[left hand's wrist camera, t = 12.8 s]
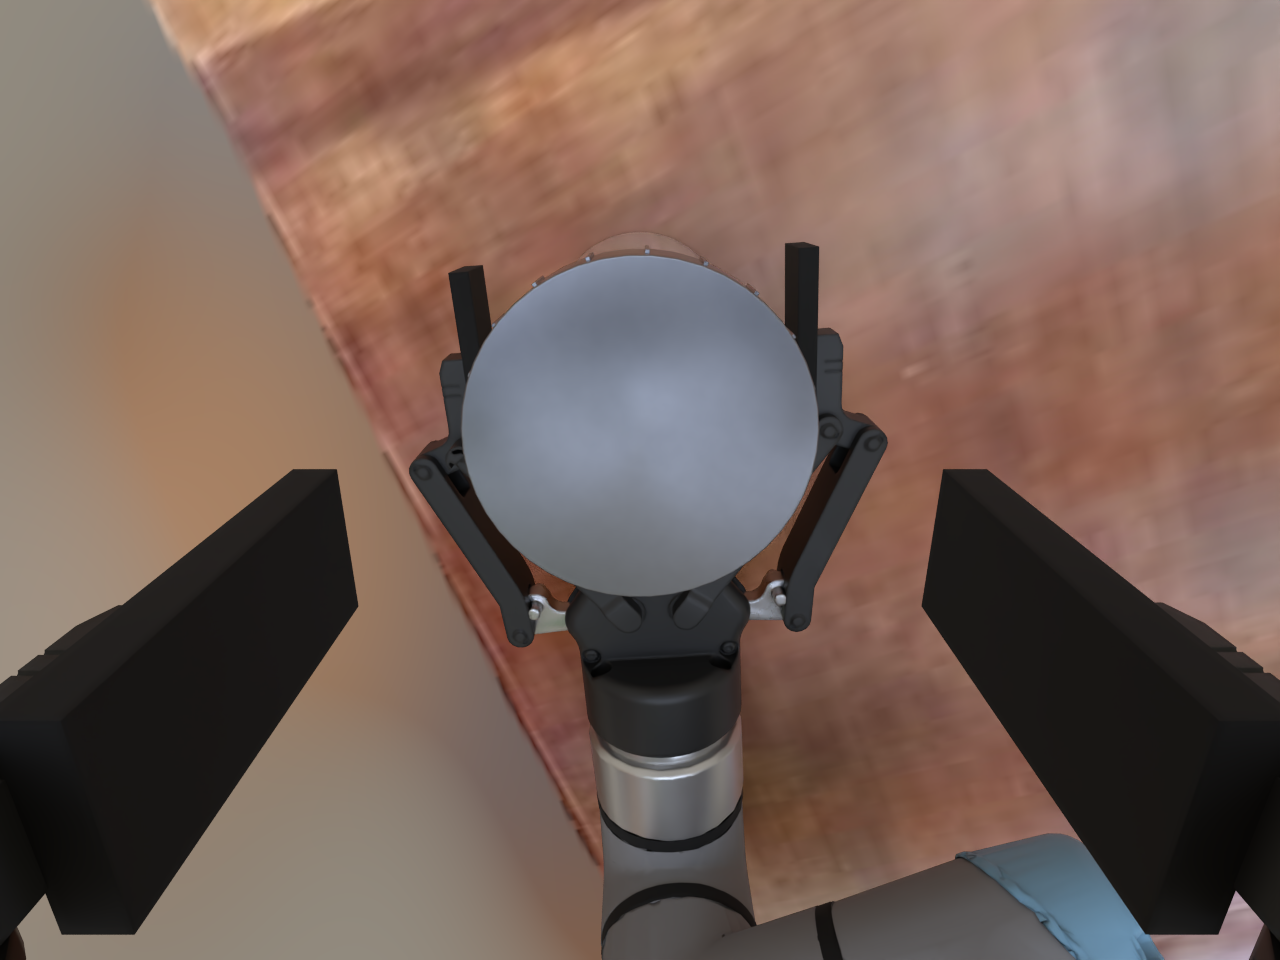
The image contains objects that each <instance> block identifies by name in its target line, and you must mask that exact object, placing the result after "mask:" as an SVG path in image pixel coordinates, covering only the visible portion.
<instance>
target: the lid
mask: <svg viewBox="0 0 1280 960" xmlns="http://www.w3.org/2000/svg"><path fill="white" fill-rule="evenodd" d="M532 286H533V288H532V289H531V290H529V291H528V292H527V293H526V294H525V295H523V296H522V297H521V298H520V299H519V300H518V301H517V302H515V303H514V304H513V305H512V307H511V308H510V309H509V310H508V311H507V312H506V313H505V314H503V315H502V316H501V317H499V318H498V319H497V320H496V321H495V322H494V323H493V324H492V327H493V329H492V330H491V332H490V333H489V335H488V336H487V338H486V339H485V341H484V342H483V344H482V346H481V348H480V350H479V352H478V354H477V356H476V358H475V360H474V362H473V365H472V368H471V371H470V372H469V373H468V380H467V383H466V387H465V393H464V398H463V403H462V415H461V437H462V447H463V454H464V459H465V463H466V467H467V472H468V475H469V478H470V480H471V483H472V485H473V488H474V491H475V493H476V495H477V497H478V499H479V501H480V503H481V505H482V507H483V508H484V510H485V512H486V514H487V515H488V517H489V518H490V519H491V521H492V522H493V524H494V525H495V526H496V528H497V529H498V531H499V532H500V533H501V534H502V535H503V536H504V537H505V538H506V539H507V540H508V542H509V543H510V544H511V545H512V546H513V547H514V548H515V549H517V550H518V551H519V552H520V553H521V554H522V555H524V556H525V557H526V558H527V559H528V560H530V561H531V562H533V563H534V564H536V565H537V566H539V567H540V568H542V569H543V570H545V571H546V572H548V573H550V574H552V575H554V576H556V577H558V578H560V579H562V580H564V581H566V582H568V583H571V584H574V585H577V586H579V587H582V588H585V589H588V590H592V591H597V592H601V593H605V594H611V595H620V596H628V597H652V596H660V595H669V594H675V593H679V592H683V591H688V590H692V589H695V588H698V587H701V586H703V585H706V584H709V583H712V582H714V581H716V580H718V579H720V578H722V577H724V576H726V575H728V574H730V573H732V572H734V571H735V570H737V569H738V568H740V567H741V566H743V565H744V564H746V563H747V562H749V561H750V560H752V559H753V558H754V557H755V556H756V555H757V554H759V553H760V552H761V551H762V550H763V549H765V548H766V547H767V546H768V545H769V544H770V543H771V541H772V540H773V539H774V538H775V537H776V536H777V535H778V534H779V533H780V532H781V531H782V529H783V528H784V526H785V525H786V524H787V522H788V521H789V519H790V518H791V517H792V515H793V514H794V512H795V510H796V508H797V507H798V505H799V503H800V501H801V499H802V497H803V495H804V493H805V491H806V488H807V485H808V483H809V480H810V477H811V475H812V472H813V467H814V463H815V458H816V454H817V447H818V436H819V416H818V404H817V398H816V393H815V386H814V383H813V380H812V377H811V374H810V371H809V368H808V365H807V362H806V360H805V358H804V356H803V354H802V352H801V350H800V348H799V346H798V344H797V342H796V341H795V338H796V337H795V335H794V334H793V333H792V332H791V331H790V330H789V329H788V328H787V327H786V326H785V325H784V323H783V322H782V321H781V320H780V318H779V317H778V316H777V315H776V314H775V313H774V312H773V311H772V310H771V309H770V308H769V307H768V305H767V304H766V303H764V302H763V301H762V300H761V299H760V298H759V297H758V295H759V293H758V292H757V291H756V290H755V289H754V288H753V287H751V286H750V285H749V284H747V285H746V286H745V285H743V284H742V283H741V282H740V281H738V280H737V279H736V278H734V277H733V276H731V275H729V274H728V273H726V272H724V271H723V270H721V269H719V268H718V267H716V266H714V265H711V264H709V262H708V261H707V260H706V259H705V258H704V257H701V256H700V257H699V259H697V258H695V257H691V256H687V255H684V254H680V253H677V252H672V251H665V250H658V249H649V245H645V249H622V250H615V251H608V252H603V253H600V254H596V255H594V253H593V252H590V253H589V254H588V255H587V256H586V257H585V258H582V259H580V260H578V261H576V262H573V263H571V264H569V265H566V266H564V267H562V268H560V269H559V270H557V271H556V272H554V273H552V274H551V275H549V276H547V277H546V278H544V276H541V277H540V278H539V279H538V280H536V281H535V282H534V283H533V284H532Z"/></svg>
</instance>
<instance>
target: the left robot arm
mask: <svg viewBox="0 0 1280 960" xmlns="http://www.w3.org/2000/svg"><path fill="white" fill-rule="evenodd" d="M357 608H358V601H357V594H356V588H355V582H354V575H353V569H352V563H351V556H350V550H349V544H348V537H347V531H346V525H345V518H344V512H343V506H342V499H341V493H340V486H339V480H338V474H337V469H293V470H292V471H290V472H289V473H288V474H287V475H285V476H284V477H283V478H282V479H280V480H279V481H278V482H277V483H275V484H274V485H273V486H272V487H270V488H269V489H268V490H267V491H265V492H264V493H263V494H262V495H260V496H259V497H258V498H256V499H255V500H254V501H253V502H251V503H250V504H249V505H248V506H246V507H245V508H244V509H243V510H241V511H240V512H239V513H238V514H236V515H235V516H234V517H233V518H231V519H230V520H229V521H228V522H226V523H225V524H224V525H223V526H221V527H220V528H219V529H218V530H216V531H215V532H214V533H213V534H211V535H210V536H209V537H207V538H206V539H205V540H204V541H202V542H201V543H200V544H199V545H197V546H196V547H195V548H194V549H192V550H191V551H190V552H189V553H187V554H186V555H185V556H184V557H182V558H181V559H180V560H179V561H177V562H176V563H175V564H174V565H172V566H171V567H170V568H168V569H167V570H166V571H165V572H163V573H162V574H161V575H160V576H158V577H157V578H156V579H155V580H153V581H152V582H151V583H150V584H148V585H147V586H146V587H145V588H143V589H142V590H141V591H140V592H138V593H137V594H136V595H135V596H133V597H132V598H131V599H130V600H128V601H127V602H126V603H125V604H123V605H118V606H116V607H114V608H112V609H110V610H108V611H106V612H104V613H102V614H99V615H97V616H95V617H93V618H91V619H89V620H87V621H85V622H83V623H81V624H79V625H77V626H76V627H74V628H73V629H72V630H70V631H69V632H68V633H66V634H65V635H64V636H62V637H61V638H60V639H59V640H57V641H56V642H55V643H53V644H52V645H51V646H49V647H48V648H47V649H46V650H45V653H44V655H38V656H36V657H35V658H34V659H32V660H31V661H30V662H29V663H27V664H26V665H25V666H23V667H22V668H21V669H19V670H18V675H17V676H10V677H9V678H8V679H6V680H5V681H4V682H3V683H1V684H0V960H26V955H25V948H24V942H23V940H22V937H21V935H20V933H19V930H18V928H17V926H18V925H19V924H20V922H21V921H22V920H23V919H24V918H25V917H26V915H27V914H28V913H29V912H30V911H31V910H32V908H33V907H34V906H35V905H36V904H37V902H38V901H39V900H40V899H41V898H42V897H43V895H44V894H46V896H47V898H48V901H49V904H50V906H51V909H52V911H53V914H54V916H55V919H56V921H57V924H58V926H59V929H60V931H61V934H62V935H134V934H135V933H136V932H137V930H138V929H139V927H140V926H141V924H142V923H143V921H144V920H145V919H146V917H147V916H148V914H149V913H150V911H151V910H152V908H153V907H154V905H155V904H156V902H157V901H158V899H159V898H160V896H161V895H162V894H163V892H164V891H165V889H166V888H167V886H168V885H169V883H170V882H171V880H172V879H173V877H174V876H175V874H176V873H177V872H178V870H179V869H180V867H181V866H182V864H183V863H184V861H185V860H186V858H187V857H188V855H189V854H190V853H191V851H192V850H193V848H194V847H195V845H196V844H197V842H198V841H199V839H200V838H201V836H202V835H203V833H204V832H205V830H206V829H207V828H208V826H209V825H210V823H211V822H212V820H213V819H214V817H215V816H216V814H217V813H218V811H219V810H220V809H221V807H222V806H223V804H224V803H225V801H226V800H227V798H228V797H229V795H230V794H231V792H232V791H233V789H234V788H235V786H236V785H237V784H238V782H239V781H240V779H241V778H242V776H243V775H244V773H245V772H246V770H247V769H248V767H249V766H250V764H251V763H252V762H253V760H254V759H255V757H256V756H257V754H258V753H259V751H260V750H261V748H262V747H263V745H264V744H265V743H266V741H267V739H268V738H269V737H270V735H271V734H272V732H273V731H274V729H275V728H276V726H277V725H278V723H279V722H280V721H281V719H282V718H283V716H284V715H285V713H286V712H287V710H288V709H289V707H290V706H291V704H292V703H293V701H294V700H295V698H296V697H297V696H298V694H299V693H300V691H301V690H302V688H303V687H304V685H305V684H306V682H307V681H308V679H309V678H310V677H311V675H312V674H313V672H314V671H315V669H316V668H317V666H318V665H319V663H320V662H321V660H322V659H323V657H324V656H325V654H326V653H327V652H328V650H329V649H330V647H331V646H332V644H333V643H334V641H335V640H336V638H337V637H338V635H339V634H340V632H341V631H342V630H343V628H344V627H345V625H346V624H347V622H348V621H349V619H350V618H351V616H352V615H353V613H354V612H355V611H356V609H357ZM922 608H923V609H924V611H925V612H926V613H927V615H928V616H929V618H930V619H931V621H932V622H933V624H934V625H935V627H936V628H937V630H938V631H939V633H940V634H941V635H942V637H943V638H944V640H945V641H946V643H947V644H948V646H949V647H950V649H951V650H952V652H953V653H954V655H955V656H956V657H957V659H958V660H959V662H960V663H961V665H962V666H963V668H964V669H965V671H966V672H967V674H968V675H969V677H970V678H971V679H972V681H973V682H974V684H975V685H976V687H977V688H978V690H979V691H980V693H981V694H982V696H983V697H984V699H985V700H986V701H987V703H988V704H989V706H990V707H991V709H992V710H993V712H994V713H995V715H996V716H997V718H998V719H999V721H1000V722H1001V723H1002V725H1003V726H1004V728H1005V729H1006V731H1007V732H1008V734H1009V735H1010V737H1011V738H1012V740H1013V741H1014V743H1015V744H1016V745H1017V747H1018V748H1019V750H1020V751H1021V753H1022V754H1023V756H1024V757H1025V759H1026V760H1027V762H1028V763H1029V765H1030V766H1031V767H1032V769H1033V770H1034V772H1035V773H1036V775H1037V776H1038V778H1039V779H1040V781H1041V782H1042V784H1043V785H1044V787H1045V788H1046V789H1047V791H1048V792H1049V794H1050V795H1051V797H1052V798H1053V800H1054V801H1055V803H1056V804H1057V806H1058V807H1059V809H1060V810H1061V811H1062V813H1063V814H1064V816H1065V817H1066V819H1067V820H1068V822H1069V823H1070V825H1071V826H1072V828H1073V829H1074V831H1075V832H1076V833H1077V835H1078V836H1079V838H1080V839H1081V841H1082V842H1083V844H1084V845H1085V847H1086V848H1087V850H1088V851H1089V853H1090V854H1091V855H1092V857H1093V858H1094V860H1095V861H1096V863H1097V864H1098V866H1099V867H1100V869H1101V870H1102V872H1103V873H1104V875H1105V876H1106V877H1107V879H1108V880H1109V882H1110V883H1111V885H1112V886H1113V888H1114V889H1115V891H1116V892H1117V894H1118V895H1119V897H1120V898H1121V899H1122V901H1123V902H1124V904H1125V905H1126V907H1127V908H1128V910H1129V911H1130V913H1131V914H1132V916H1133V917H1134V919H1135V920H1136V921H1137V923H1138V924H1139V926H1140V927H1141V929H1142V930H1143V932H1144V933H1145V935H1218V934H1219V931H1220V929H1221V926H1222V924H1223V921H1224V919H1225V916H1226V914H1227V911H1228V909H1229V906H1230V904H1231V901H1232V899H1233V896H1234V894H1235V891H1237V892H1238V893H1239V895H1240V896H1241V897H1242V898H1243V899H1244V900H1245V902H1246V903H1247V904H1248V905H1249V906H1250V907H1251V909H1252V910H1253V911H1254V912H1255V913H1256V914H1257V916H1258V917H1259V918H1260V919H1261V920H1262V921H1263V923H1264V925H1263V928H1262V930H1261V932H1260V935H1259V937H1258V940H1257V942H1256V944H1255V947H1254V949H1253V951H1252V954H1251V956H1250V958H1249V960H1280V680H1279V679H1277V678H1276V677H1275V676H1273V675H1272V674H1271V673H1264V672H1263V667H1262V666H1260V665H1259V664H1258V663H1256V662H1255V661H1254V660H1252V659H1251V658H1250V657H1248V656H1247V655H1246V654H1244V653H1243V652H1237V650H1236V647H1235V646H1234V645H1233V644H1231V643H1230V642H1229V641H1227V640H1226V639H1225V638H1223V637H1222V636H1221V635H1220V634H1218V633H1217V632H1216V631H1214V630H1213V629H1212V628H1210V627H1209V626H1208V625H1206V624H1205V623H1203V622H1201V621H1199V620H1197V619H1195V618H1193V617H1191V616H1189V615H1187V614H1185V613H1183V612H1181V611H1179V610H1177V609H1175V608H1173V607H1170V606H1168V605H1166V604H1164V603H1154V602H1153V601H1152V600H1150V599H1149V598H1148V597H1147V596H1145V595H1144V594H1143V593H1142V592H1140V591H1139V590H1138V589H1137V588H1135V587H1134V586H1133V585H1132V584H1130V583H1129V582H1128V581H1127V580H1125V579H1124V578H1123V577H1122V576H1120V575H1119V574H1118V573H1117V572H1115V571H1114V570H1113V569H1112V568H1110V567H1109V566H1108V565H1106V564H1105V563H1104V562H1103V561H1101V560H1100V559H1099V558H1098V557H1096V556H1095V555H1094V554H1093V553H1091V552H1090V551H1089V550H1088V549H1086V548H1085V547H1084V546H1083V545H1081V544H1080V543H1079V542H1078V541H1076V540H1075V539H1074V538H1073V537H1071V536H1070V535H1069V534H1068V533H1066V532H1065V531H1064V530H1063V529H1061V528H1060V527H1059V526H1057V525H1056V524H1055V523H1054V522H1052V521H1051V520H1050V519H1049V518H1047V517H1046V516H1045V515H1044V514H1042V513H1041V512H1040V511H1039V510H1037V509H1036V508H1035V507H1034V506H1032V505H1031V504H1030V503H1029V502H1027V501H1026V500H1025V499H1024V498H1022V497H1021V496H1020V495H1019V494H1017V493H1016V492H1015V491H1014V490H1012V489H1011V488H1010V487H1008V486H1007V485H1006V484H1005V483H1003V482H1002V481H1001V480H1000V479H998V478H997V477H996V476H995V475H993V474H992V473H991V472H990V471H988V470H987V469H943V474H942V480H941V486H940V493H939V499H938V505H937V512H936V518H935V525H934V531H933V537H932V544H931V550H930V556H929V563H928V569H927V575H926V582H925V588H924V594H923V601H922Z"/></svg>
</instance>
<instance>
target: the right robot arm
mask: <svg viewBox="0 0 1280 960" xmlns="http://www.w3.org/2000/svg"><path fill="white" fill-rule="evenodd" d="M448 274H449V281H450V287H451V293H452V300H453V306H454V312H455V319H456V325H457V332H458V338H459V344H460V351H461V353H454V354H450V355H449V356H447V357H446V358H445V359H444V360H443V361H442V364H441V369H440V373H439V374H440V380H441V386H442V392H443V397H444V404H445V410H446V416H447V422H448V428H449V436H448V437H446V438H444V439H441V440H439V441H432V442H430V443H429V444H428V445H427V446H426V447H425V448H424V449H423V450H422V452H421V453H420V454H419V455H418V456H417V458H416V459H415V460H414V461H413V462H412V464H411V466H410V468H409V474H410V476H411V479H412V480H413V482H414V483H415V484H416V486H417V487H418V489H419V490H420V492H421V493H422V495H423V496H424V497H425V499H426V500H427V502H428V503H429V505H430V506H431V508H432V509H433V510H434V512H435V513H436V515H437V516H438V518H439V519H440V521H441V522H442V523H443V525H444V526H445V528H446V529H447V531H448V532H449V534H450V535H451V536H452V538H453V539H454V541H455V542H456V544H457V545H458V546H459V548H460V549H461V551H462V552H463V554H464V555H465V557H466V558H467V559H468V561H469V562H470V564H471V565H472V567H473V568H474V570H475V571H476V572H477V574H478V575H479V577H480V578H481V580H482V581H483V583H484V584H485V585H486V587H487V588H488V590H489V591H490V593H491V594H492V596H493V597H494V598H495V600H496V601H497V603H498V604H499V606H500V609H501V613H502V618H503V622H504V626H505V630H506V634H507V638H508V640H509V642H510V643H511V644H512V645H514V646H516V647H526V646H528V645H530V644H531V643H532V641H533V639H534V635H535V634H540V633H548V632H556V631H564V630H568V631H569V633H570V634H571V635H572V636H573V637H574V639H575V640H576V642H577V644H578V646H579V649H580V654H581V663H582V672H583V680H584V689H585V698H586V706H587V714H588V719H589V721H590V731H589V734H590V742H591V750H592V757H593V765H594V773H595V780H596V788H597V798H598V804H599V809H600V818H601V831H602V844H603V857H604V887H603V906H602V926H601V946H602V950H601V955H602V960H1164V958H1163V956H1162V955H1161V954H1160V953H1159V951H1158V950H1157V948H1156V946H1155V944H1154V943H1153V941H1152V939H1151V937H1150V935H1145V933H1144V932H1143V930H1142V929H1141V927H1140V926H1139V924H1138V923H1137V921H1136V920H1135V919H1134V917H1133V916H1132V914H1131V913H1130V911H1129V910H1128V908H1127V907H1126V905H1125V904H1124V902H1123V901H1122V899H1121V898H1120V897H1119V895H1118V894H1117V892H1116V891H1115V889H1114V888H1113V886H1112V885H1111V883H1110V882H1109V880H1108V879H1107V877H1106V876H1105V875H1104V873H1103V872H1102V870H1101V869H1100V867H1099V866H1098V864H1097V863H1096V861H1095V860H1094V858H1093V857H1092V855H1091V854H1090V853H1089V851H1088V850H1087V848H1086V847H1085V845H1084V844H1083V843H1081V842H1080V841H1078V840H1077V839H1075V838H1072V837H1070V836H1068V835H1063V834H1043V835H1039V836H1035V837H1031V838H1026V839H1022V840H1018V841H1014V842H1010V843H1006V844H1002V845H997V846H993V847H989V848H985V849H981V850H977V851H973V852H961V853H958V854H956V856H955V860H952V861H949V862H946V863H944V864H941V865H938V866H935V867H932V868H929V869H927V870H924V871H921V872H918V873H915V874H912V875H910V876H907V877H904V878H901V879H898V880H895V881H893V882H890V883H887V884H884V885H881V886H878V887H876V888H873V889H870V890H867V891H864V892H861V893H859V894H856V895H853V896H850V897H847V898H844V899H842V900H839V901H836V902H835V901H832V902H828V903H825V904H822V905H820V906H815V907H812V908H809V909H806V910H803V911H800V912H797V913H794V914H791V915H788V916H784V917H781V918H778V919H775V920H772V921H769V922H766V923H763V924H760V925H756V922H755V918H754V911H753V905H752V899H751V893H750V886H749V880H748V873H747V866H746V856H745V841H744V824H743V808H742V798H743V752H742V722H741V716H740V711H741V669H740V637H741V633H742V631H743V629H744V627H745V626H746V624H747V622H748V620H783V621H784V624H785V626H786V627H787V629H789V630H791V631H795V632H798V631H802V630H804V629H806V628H807V627H808V626H809V625H810V622H811V615H812V605H813V595H814V587H815V585H816V583H817V581H818V579H819V577H820V575H821V574H822V572H823V570H824V568H825V566H826V564H827V562H828V560H829V558H830V556H831V554H832V552H833V550H834V548H835V546H836V544H837V543H838V541H839V539H840V537H841V535H842V533H843V531H844V529H845V527H846V525H847V523H848V521H849V519H850V517H851V515H852V513H853V512H854V510H855V508H856V506H857V504H858V502H859V500H860V498H861V496H862V494H863V492H864V490H865V488H866V486H867V484H868V482H869V481H870V479H871V477H872V475H873V473H874V471H875V469H876V467H877V465H878V463H879V461H880V459H881V457H882V455H883V453H884V451H885V450H886V447H887V444H888V442H887V437H886V435H885V434H884V433H883V432H882V431H881V430H880V429H879V428H878V427H877V426H876V425H875V424H874V423H873V422H872V421H871V420H870V419H869V418H868V417H867V416H866V415H864V414H861V413H855V414H854V413H851V412H847V411H844V410H843V409H842V404H841V402H842V369H843V362H842V360H843V344H842V342H841V339H840V337H839V334H838V333H836V332H835V331H834V330H832V329H831V328H820V329H818V281H819V246H815V245H812V244H809V243H805V242H799V243H785V326H786V327H787V328H788V329H789V330H790V331H791V332H792V333H793V334H794V335H795V337H796V338H795V341H796V342H797V344H798V346H799V348H800V350H801V352H802V354H803V356H804V358H805V360H806V362H807V365H808V368H809V371H810V374H811V377H812V380H813V383H814V386H815V393H816V398H817V404H818V416H819V436H818V447H817V454H816V458H815V463H814V467H813V472H814V471H815V470H816V468H817V467H818V466H819V465H820V463H821V462H822V461H823V460H824V458H825V457H826V456H827V455H828V456H827V458H826V460H825V462H824V464H823V466H822V468H821V470H820V472H819V474H818V476H817V479H816V481H815V483H814V485H813V487H812V489H811V491H810V493H809V495H808V497H807V499H806V501H805V503H804V505H803V507H802V509H801V511H800V513H799V515H798V517H797V520H796V522H795V524H794V526H793V528H792V530H791V532H790V534H789V536H788V538H787V540H786V542H785V544H784V546H783V549H782V551H781V554H780V557H779V561H778V566H777V571H776V570H773V569H772V570H769V571H768V572H767V573H766V575H765V576H764V577H763V580H762V582H761V585H760V586H759V587H758V588H757V589H755V590H752V591H746V590H745V588H744V586H743V585H742V584H741V583H740V582H739V581H738V579H737V578H736V577H735V575H736V574H737V573H738V572H739V571H740V569H741V568H742V567H743V566H741V567H740V568H738V569H737V570H735V571H734V572H732V573H730V574H728V575H726V576H724V577H722V578H720V579H718V580H716V581H714V582H712V583H709V584H706V585H703V586H701V587H698V588H695V589H692V590H688V591H683V592H679V593H675V594H669V595H660V596H652V597H628V596H620V595H611V594H605V593H601V592H597V591H592V590H588V589H585V588H582V587H579V586H577V585H575V586H576V588H575V589H574V591H573V592H572V594H571V595H570V597H569V599H568V602H561V601H558V600H556V599H555V598H554V597H553V596H552V595H551V593H550V591H549V590H548V589H547V588H546V586H545V585H544V584H542V583H538V584H536V585H535V582H534V579H533V576H532V573H531V571H530V569H529V567H528V565H527V564H526V562H525V560H524V559H523V557H522V556H521V554H520V553H519V551H518V550H517V549H515V548H514V547H513V546H512V545H511V544H510V543H509V542H508V540H507V539H506V538H505V537H504V536H503V535H502V534H501V533H500V532H499V531H498V529H497V528H496V526H495V525H494V524H493V522H492V521H491V519H490V518H489V517H488V515H487V514H486V512H485V510H484V508H483V507H482V505H481V503H480V501H479V499H478V497H477V495H476V493H475V491H474V488H473V485H472V483H471V480H470V478H469V475H468V472H467V467H466V463H465V459H464V454H463V447H462V437H461V415H462V403H463V398H464V393H465V387H466V383H467V380H468V373H469V372H470V371H471V368H472V365H473V362H474V360H475V358H476V356H477V354H478V352H479V350H480V348H481V346H482V344H483V342H484V341H485V339H486V338H487V336H488V335H489V333H490V332H491V330H492V328H491V320H490V313H489V306H488V299H487V292H486V285H485V278H484V271H483V265H478V266H464V267H462V268H460V269H457V270H455V271H452V272H450V273H448ZM813 472H812V473H813Z"/></svg>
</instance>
